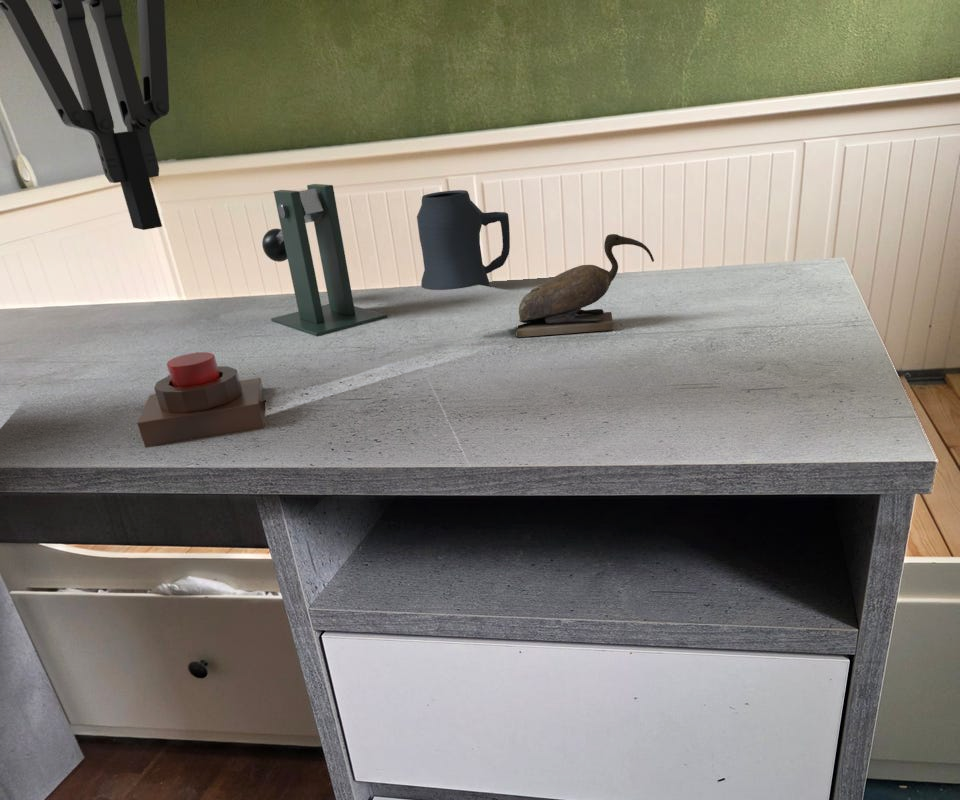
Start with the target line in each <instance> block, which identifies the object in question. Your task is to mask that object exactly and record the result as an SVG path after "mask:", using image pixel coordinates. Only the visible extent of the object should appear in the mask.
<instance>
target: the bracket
mask: <svg viewBox="0 0 960 800" xmlns="http://www.w3.org/2000/svg"><path fill="white" fill-rule="evenodd" d="M306 188H307V190H309V189H314V188H315V189H316V191H317V194H318V197H319V199H320V202H321V205H322V208H323V212H322V213H321V215H320V216H319V217H318V218H317V220H316V221H313V225H314V230H315V231H314V232H315V236H316V240H317V241H316V242H317V245H318V252H319V258H320V262H321V267H322V273H323V277H324V283H325V289H326V294H327V299H328V303H326V304H323V305H322V302H321V301H322V300H321V296H320V290H319V286H318V281H317V275H316V271H315V270H316V269H315V266H314V260H313V255H312V251H311V244H310V239H309V235H308V230H307V225H306V224H307V223H305V219H304V213H303V208H302V203H301V198H300V193H299V191H300V190H291V189H289V190H288V189H278V190H274V191H273V196H274V200H275V206H276V210H277V214H278V219H279V224H280V229H281V230H282V234H283V239H284V244H285V249H286V253H287V258H288V259H287V263H288V268H289V272H290V273H289V274H290V277H291V282H292V287H293V292H294V296H295V301H296V307H297V310H298V311H295V312H291V313H287V314H283V315H279V316H275V317H271V318H270V320H271V322H272V323H276V324H279V325H281V326H284V327H288V328H291V329H293V330H296V331H299V332H302V333H305V334H308V335H311V336H314V337H320V336H325V335H327V334H332V333H335V332H339V331H342V330H347V329H351V328H355V327H358V326H362V325H365V324H368V323H372V322H376V321H380V320H384V319H387V318H388V315H387V314H386V313H382V312H379V311H374V310H370V309H366V308H363V307H359V306H357V305H356V306H355V304H354V298H353V292H352V288H351V287H352V286H351V281H350V276H349V270H348V265H347V258H346V252H345V247H344V241H343V236H342V230H341V224H340V218H339V212H338V208H337V207H338V206H337V201H336V195H335V190H334V185H333V184H321V183H312V184H307V185H306Z"/></svg>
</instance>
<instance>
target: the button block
mask: <svg viewBox="0 0 960 800" xmlns="http://www.w3.org/2000/svg"><path fill="white" fill-rule="evenodd" d="M217 367H218V371H219V374H220V378H219V379H217V380H215V381H213V382H209V383H206V384H203V385H197V386H191V387H173V384H172V380H171V377H170V374H168V375H167V376H166V377H163V378H162V379H160V380H158V381H156V383H155V385H154V386H153V390H154V393H152V394H149V396H148V398H147V400H146V403H145V404H144V407H143V409H142V411H141V414H140V416H139V417H138V420H137V427H138V430H139V433H140V436H141V439H142V442H143V446H144V448H152V447H158V446H163V445H171V444H176V443H182V442H187V441H194V440H201V439H205V438H213V437H219V436H224V435H226V436H227V435H231V434H237V433H243V432H250V431H257V430H262V429H265V422H266V421H265V420H266V405H267V403H266V402H267V399H264V400H263V394H264V386H263V382H262V378H261V377H255V378H248V379H243V380H240V376H239V372H238V370H237V369H236V368H233V367H230V366H227V365H220V366H219V365H217Z"/></svg>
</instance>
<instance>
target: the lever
mask: <svg viewBox="0 0 960 800" xmlns="http://www.w3.org/2000/svg"><path fill="white" fill-rule="evenodd" d="M298 191H299V193H300V198H301V203H302V208H303V213H304V219H305V224H308V223H314V221H316V220H317V218H318V217H319V216H320V215H321V213H322V212H323V208H322V205H321V202H320V199H319V197H318V194H317V191H316V189H315V188H314V189H309V190H308V189H306V190H305V189H304V190H298ZM262 250H263V252H264V254H265V255H266V257H267V258H269V259H270V260H272V261H274V262H277V263H281V262H285V261H286V260H287V261H288V258H287V253H286V249H285V244H284V239H283V234H282V230H281V228H272V229H270V230H268V231H266V232H265V234H264V236H263V238H262Z"/></svg>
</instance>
